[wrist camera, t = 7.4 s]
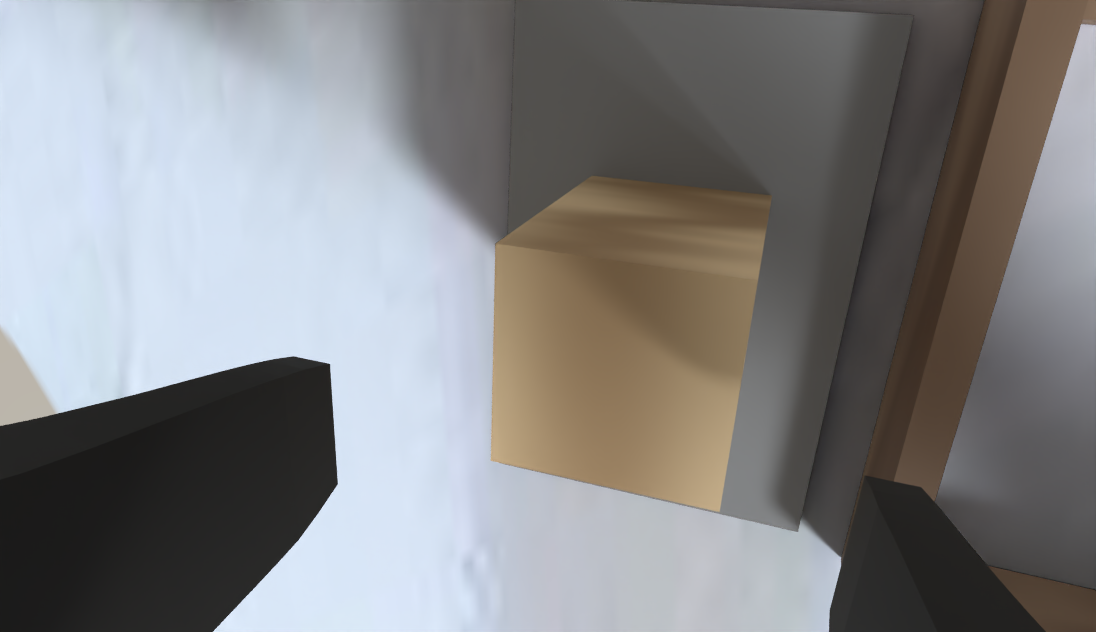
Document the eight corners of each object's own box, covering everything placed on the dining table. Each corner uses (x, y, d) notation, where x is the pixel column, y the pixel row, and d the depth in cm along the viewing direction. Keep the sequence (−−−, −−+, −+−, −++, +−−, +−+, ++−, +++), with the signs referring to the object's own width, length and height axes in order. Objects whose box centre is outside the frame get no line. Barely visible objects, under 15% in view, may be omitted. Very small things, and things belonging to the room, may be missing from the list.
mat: (911, 15, 14) (914, 14, 14) (797, 522, 19) (797, 531, 18) (521, -5, 16) (515, -6, 16) (505, 455, 21) (499, 462, 20)
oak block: (772, 195, 16) (757, 280, 10) (744, 363, 17) (719, 511, 12) (591, 175, 17) (495, 243, 11) (580, 335, 18) (490, 460, 13)
